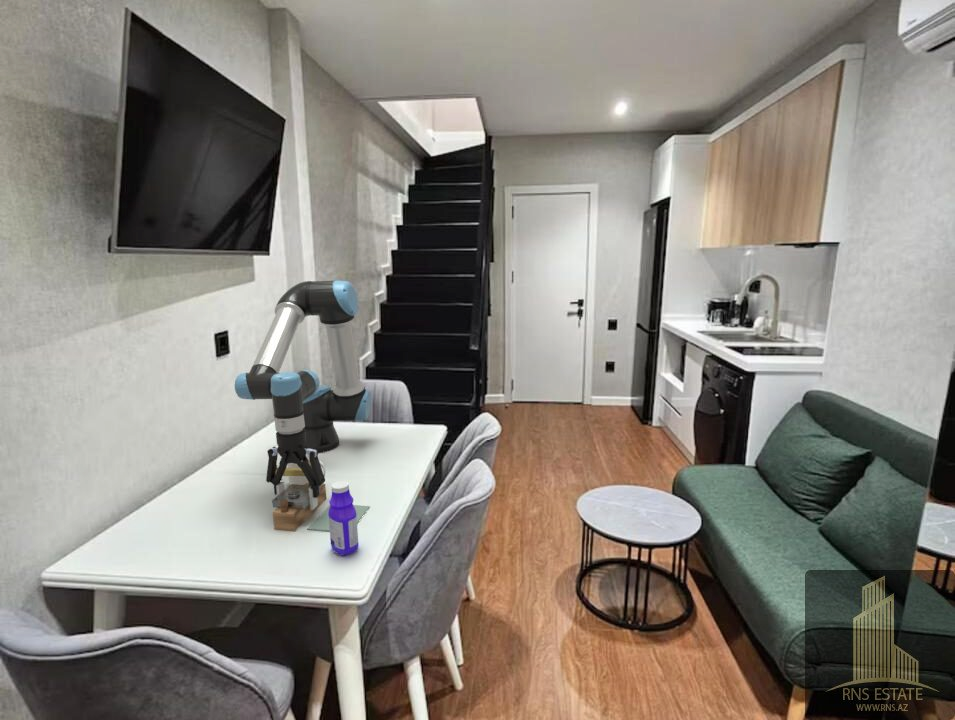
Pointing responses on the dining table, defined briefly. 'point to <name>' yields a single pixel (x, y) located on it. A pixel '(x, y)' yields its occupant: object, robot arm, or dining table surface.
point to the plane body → (294, 513)
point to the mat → (323, 519)
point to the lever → (293, 471)
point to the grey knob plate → (294, 496)
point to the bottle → (342, 520)
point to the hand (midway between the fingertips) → (298, 506)
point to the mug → (300, 479)
